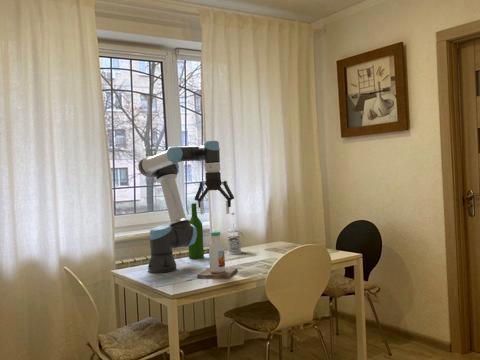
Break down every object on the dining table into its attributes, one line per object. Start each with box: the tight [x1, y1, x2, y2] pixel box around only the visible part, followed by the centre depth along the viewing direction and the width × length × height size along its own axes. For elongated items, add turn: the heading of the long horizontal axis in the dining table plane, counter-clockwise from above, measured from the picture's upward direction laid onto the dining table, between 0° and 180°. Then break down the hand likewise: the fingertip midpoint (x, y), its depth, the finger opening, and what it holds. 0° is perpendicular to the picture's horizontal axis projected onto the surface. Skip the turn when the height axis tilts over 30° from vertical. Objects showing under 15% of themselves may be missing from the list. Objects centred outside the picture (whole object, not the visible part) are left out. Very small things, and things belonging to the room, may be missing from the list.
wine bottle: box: [187, 203, 205, 260], centre depth 292 cm, size 9×9×32 cm
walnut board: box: [196, 267, 238, 280], centre depth 245 cm, size 16×16×2 cm
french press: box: [226, 212, 245, 255], centre depth 302 cm, size 10×12×25 cm
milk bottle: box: [208, 231, 226, 273], centre depth 245 cm, size 8×8×20 cm
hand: (214, 214), depth 244 cm, fingers open, 13 cm apart
